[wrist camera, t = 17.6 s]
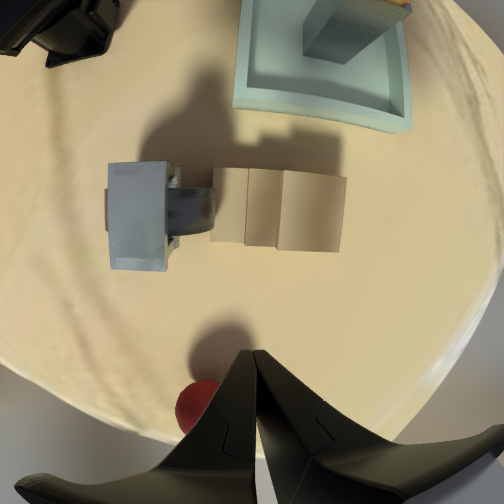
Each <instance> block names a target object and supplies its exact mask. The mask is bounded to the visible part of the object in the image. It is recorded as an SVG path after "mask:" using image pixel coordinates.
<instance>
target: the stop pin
mask: <svg viewBox="0 0 504 504" xmlns="http://www.w3.org/2000/svg"><path fill="white" fill-rule="evenodd" d="M413 1H414V0H316V2H315V3H314V5H313V7H312V8H311V10H310V12H309V14H308V15H307V17H306V19H305V20H304V22H303V56H306V57H311V58H316V59H321V60H325V61H330V62H334V63H338V64H342V65H345V64H346V63H347V62H348V61H350V60H351V59H352V58H353V57H354V56H356V55H357V54H358V53H359V52H361V51H362V50H363V49H364V48H365V47H367V46H368V45H369V44H371V43H372V42H373V41H374V40H376V39H377V38H378V37H379V36H381V35H382V34H383V33H385V32H386V31H387V30H389V29H390V28H391V27H393V26H394V25H395V24H397V23H398V22H399V21H401V20H402V19H404V18H405V17H406V16H408V15H409V14H411V13H412V9H411V5H410V3H411V2H413Z"/></svg>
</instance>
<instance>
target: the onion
mask: <svg viewBox="0 0 504 504" xmlns="http://www.w3.org/2000/svg"><path fill="white" fill-rule="evenodd" d="M219 385H220V383H219V382H215V381H198V382H195V383H192V384H190V385H189V386H187V387H186V388H185V389H184V390H183V391H182V392H181V393H180V395H179V397H178V400H177V403H176V407H175V415H176V418H177V421H178V424H179V427H180V429H181V430H182V432H183V433H185V434H186V435H187V433H188V432H189V431H190V430H191V429H192V427H193V426H194V425H195V424H196V422H197V421H198V419H199V418H200V416H201V415H202V413H203V411H204V410H205V408H206V407H207V405H208V403H209V402H210V400H211V398H212V397H213V395H214V393H215V392H216V390H217V388H218V387H219Z"/></svg>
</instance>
